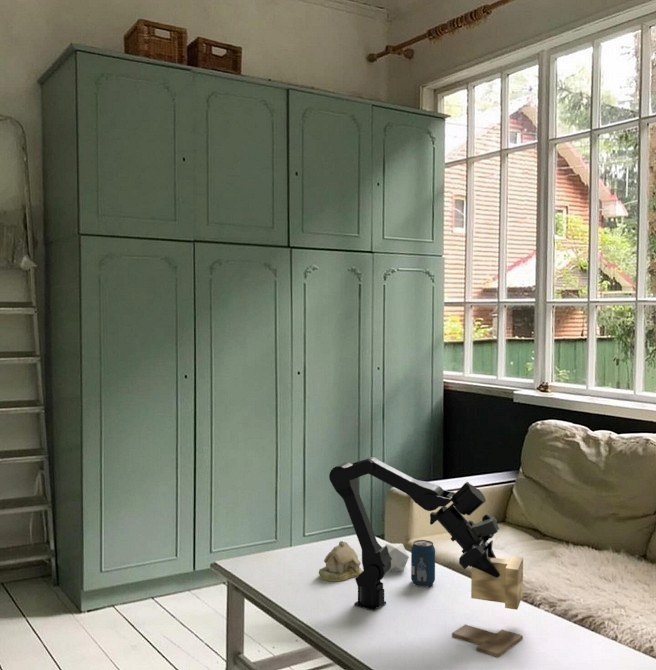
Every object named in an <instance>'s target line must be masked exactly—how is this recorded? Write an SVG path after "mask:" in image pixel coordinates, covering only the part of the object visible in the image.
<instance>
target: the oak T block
mask: <svg viewBox="0 0 656 670" xmlns="http://www.w3.org/2000/svg"><path fill="white" fill-rule="evenodd" d="M489 559H490V560H491V562H492V563H493V565H494V566H495V568H496V569H497V571H498V572H499V574H500V576H499V577H498V578H496V577H494V576H492V575H490V574H488V573H486V572H483V571H481V570H479V569H476V568H474V567H472V566H471V576H470V577H471V581H470V582H471V589H470V590H471V591H470V592H471V593H470V594H471V595H470V598H471V599H475V600H480V601H481V600H482V601H487V602H488V601H489V602H495V603H501V604H504V608H505V609H509V610H510V609H511V610H518V609H519V607H520V604H521V602H522V601H521V600H522V598H523V595H524V594H523V593H524V592H523V591H524V589H523V588H524V587H523V586H524V557H522V556H515V555H511V556H510V558H509V559H507V558H498V557H496V558H491V557H489Z"/></svg>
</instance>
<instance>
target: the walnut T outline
mask: <svg viewBox="0 0 656 670" xmlns="http://www.w3.org/2000/svg"><path fill="white" fill-rule="evenodd" d="M451 636H452V637H453V638H458V639H460V640H464V641H466V642H470V643H472V644H476V645H478V646H476V651H478V652H481V653H484V654H486V655H490V656H494V657H496V658H499V657H500V656H501V654H502V655H503V654H505V653H506V652H507V651H508V650H510V649H511V648H513V645H514V646H515V645H516V644H518V643H519V642H520V641H522V640H523V639H522V638H523V637H524V635H523V634H519V633H515V632H512V631H510V630H509V631H508V630H506V629H500V630H499V631H497V632H496V633H495V632H493V631H489V630H485V629H481V628H479V627H475V626H472V625H468V624H463V625H462V626H460V627H459V628H458V629H456V630H454V631H453V632H452V633H451ZM521 639H522V640H521ZM518 641H519V642H518ZM517 642H518V643H517ZM510 647H511V648H510ZM509 648H510V649H509ZM506 650H507V651H506ZM505 651H506V652H505Z"/></svg>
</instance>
